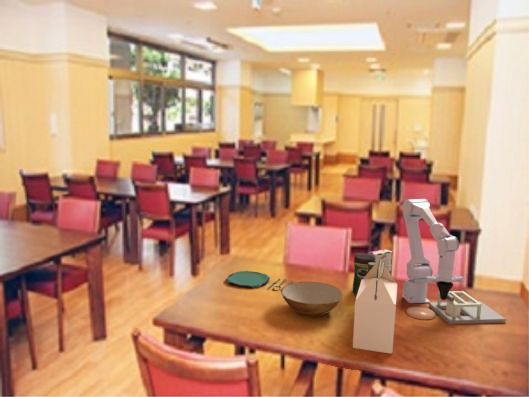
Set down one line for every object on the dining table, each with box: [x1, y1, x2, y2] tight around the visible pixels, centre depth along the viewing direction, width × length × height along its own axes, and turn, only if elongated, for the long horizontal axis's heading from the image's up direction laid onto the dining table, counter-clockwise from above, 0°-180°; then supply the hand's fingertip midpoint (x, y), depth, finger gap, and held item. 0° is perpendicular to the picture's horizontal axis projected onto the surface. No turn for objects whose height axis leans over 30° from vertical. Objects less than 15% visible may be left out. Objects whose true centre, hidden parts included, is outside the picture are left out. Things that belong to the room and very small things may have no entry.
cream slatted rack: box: [436, 290, 482, 318], centre depth 197 cm, size 11×14×7 cm
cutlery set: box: [225, 270, 294, 291], centre depth 229 cm, size 20×30×2 cm, turn 68°
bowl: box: [280, 281, 344, 317], centre depth 197 cm, size 25×25×8 cm
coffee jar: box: [351, 252, 376, 296], centre depth 216 cm, size 10×8×19 cm
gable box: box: [352, 257, 398, 355], centre depth 173 cm, size 22×13×28 cm, turn 164°
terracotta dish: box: [406, 306, 437, 321], centre depth 197 cm, size 11×11×1 cm
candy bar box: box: [367, 248, 393, 275], centre depth 228 cm, size 11×5×16 cm, turn 119°
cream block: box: [445, 299, 461, 317], centre depth 197 cm, size 4×4×6 cm
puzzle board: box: [428, 300, 507, 325], centre depth 198 cm, size 23×18×2 cm
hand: (442, 299), depth 196 cm, fingers closed
